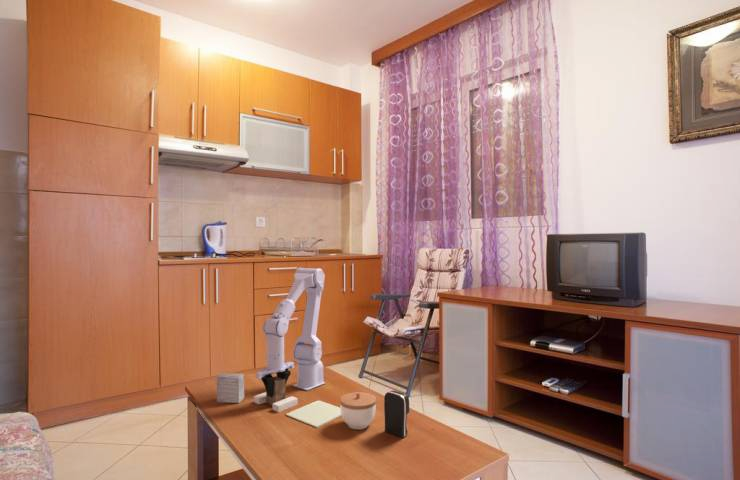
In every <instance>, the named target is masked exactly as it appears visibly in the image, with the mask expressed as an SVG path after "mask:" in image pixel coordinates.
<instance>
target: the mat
mask: <svg viewBox="0 0 740 480" xmlns="http://www.w3.org/2000/svg"><path fill="white" fill-rule="evenodd" d="M285 416H287V417H289V418H292V419H293V420H294V419H295V420H296V421H298V422H301V423H303V424H306V425H310V426H312V427H315V428H316V429H318V428H320V427H322V426H324V425H326V424H328V423H330V422H332V421H334V420H336V419H338V418H340V417H342V415H341V408H340V407H339V406H337V405H334V404H331V403H328V402H325V401H322V400H316V401H313V402H311V403H309V404H308V403H307V404H306V405H304V406H301V407H299V408H296V409H293V410H291V411H290V412H287V413H286V414H285Z"/></svg>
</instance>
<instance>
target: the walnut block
mask: <svg viewBox="0 0 740 480" xmlns="http://www.w3.org/2000/svg"><path fill="white" fill-rule="evenodd" d="M274 377H275V382H274V388H273V397H268V396H267V392H266V391H265V392H266V402H265V403H266V404H268V405H270V406H272V407H273V403H276V402H278V401H281V400H283V399H286V386H285V379H283V378H280V377H277V375H275V376H274Z"/></svg>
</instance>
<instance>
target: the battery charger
mask: <svg viewBox="0 0 740 480" xmlns="http://www.w3.org/2000/svg"><path fill="white" fill-rule="evenodd" d="M383 397H384V400H383V407H384V408H383V413H384V431H385V432H387V433H389V434H391V435H393V436H397V437H399V438H405V437H406V436H407V435H408V430H407V419H408V418H407V417H408V414H409V413H410V397H409V396H408V394H406V393H404V392H401V391H398V390H397V391H396V390H390V391H388V392H386V393H385V394H384V396H383Z"/></svg>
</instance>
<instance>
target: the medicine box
mask: <svg viewBox="0 0 740 480" xmlns="http://www.w3.org/2000/svg"><path fill="white" fill-rule="evenodd" d="M244 377H245V375H244V373H230V372H229V373H221V374H219V375H217V377H216V403H230V404H240V403H241V402H242V401H243V400H244V399H245V378H244Z"/></svg>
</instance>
